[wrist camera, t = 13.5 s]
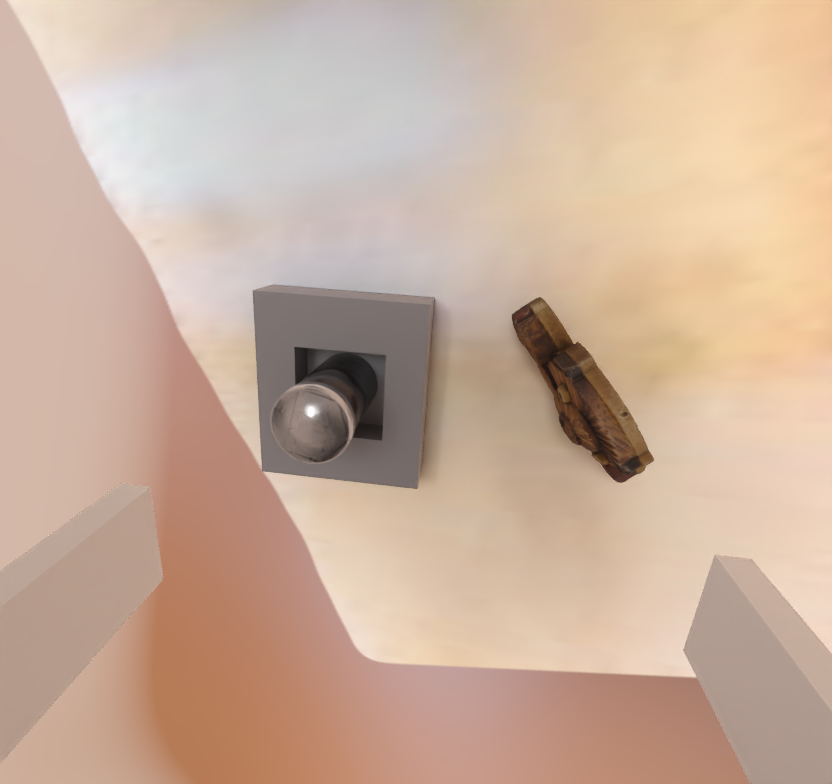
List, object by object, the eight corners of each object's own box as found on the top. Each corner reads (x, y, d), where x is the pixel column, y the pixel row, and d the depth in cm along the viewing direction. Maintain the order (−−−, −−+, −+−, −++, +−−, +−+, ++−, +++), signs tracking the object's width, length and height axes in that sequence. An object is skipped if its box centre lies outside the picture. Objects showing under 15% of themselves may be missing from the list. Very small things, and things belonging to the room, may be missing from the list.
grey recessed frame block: (273, 284, 41) (252, 290, 37) (434, 297, 40) (430, 304, 36) (279, 451, 46) (262, 471, 42) (421, 467, 45) (417, 488, 41)
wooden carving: (488, 320, 40) (493, 349, 30) (534, 285, 38) (554, 304, 29) (598, 462, 43) (633, 527, 33) (644, 434, 41) (694, 494, 32)
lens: (314, 348, 41) (267, 383, 32) (380, 353, 41) (351, 390, 31) (316, 410, 43) (272, 459, 34) (378, 415, 43) (351, 468, 33)
